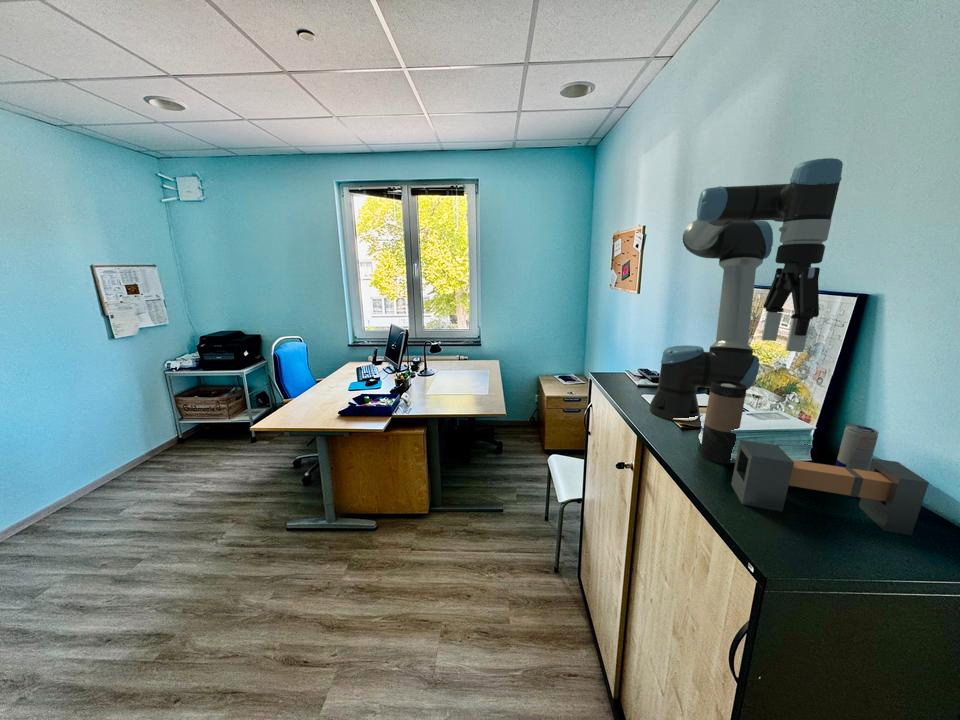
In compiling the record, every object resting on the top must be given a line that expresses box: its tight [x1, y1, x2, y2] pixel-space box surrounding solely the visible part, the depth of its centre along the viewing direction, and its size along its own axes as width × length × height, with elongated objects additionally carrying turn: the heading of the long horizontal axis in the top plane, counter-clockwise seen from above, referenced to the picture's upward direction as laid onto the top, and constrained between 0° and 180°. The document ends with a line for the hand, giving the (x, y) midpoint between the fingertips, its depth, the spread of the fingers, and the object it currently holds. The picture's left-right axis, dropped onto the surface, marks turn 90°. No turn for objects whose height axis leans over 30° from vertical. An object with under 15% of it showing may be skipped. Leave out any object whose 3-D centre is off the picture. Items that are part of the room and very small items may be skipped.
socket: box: [858, 457, 930, 537], centre depth 73 cm, size 8×4×11 cm, turn 161°
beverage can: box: [834, 423, 880, 471], centre depth 83 cm, size 5×5×15 cm
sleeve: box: [730, 439, 794, 513], centre depth 80 cm, size 8×7×11 cm
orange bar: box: [788, 459, 893, 502], centre depth 76 cm, size 4×22×4 cm, turn 71°
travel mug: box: [700, 380, 748, 465], centre depth 96 cm, size 8×8×20 cm
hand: (780, 345), depth 82 cm, fingers open, 13 cm apart
